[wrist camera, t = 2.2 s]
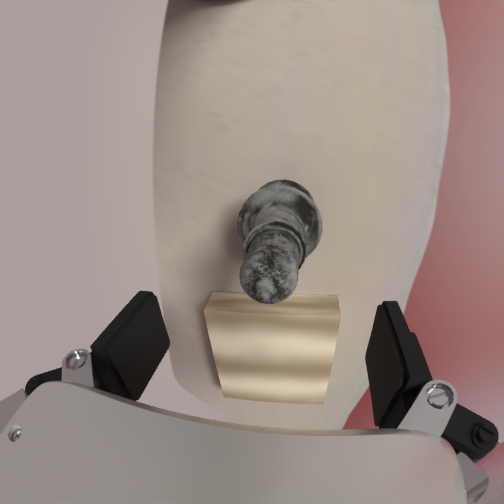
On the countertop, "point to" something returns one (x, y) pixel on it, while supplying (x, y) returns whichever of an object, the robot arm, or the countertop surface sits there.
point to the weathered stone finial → (277, 239)
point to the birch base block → (273, 346)
